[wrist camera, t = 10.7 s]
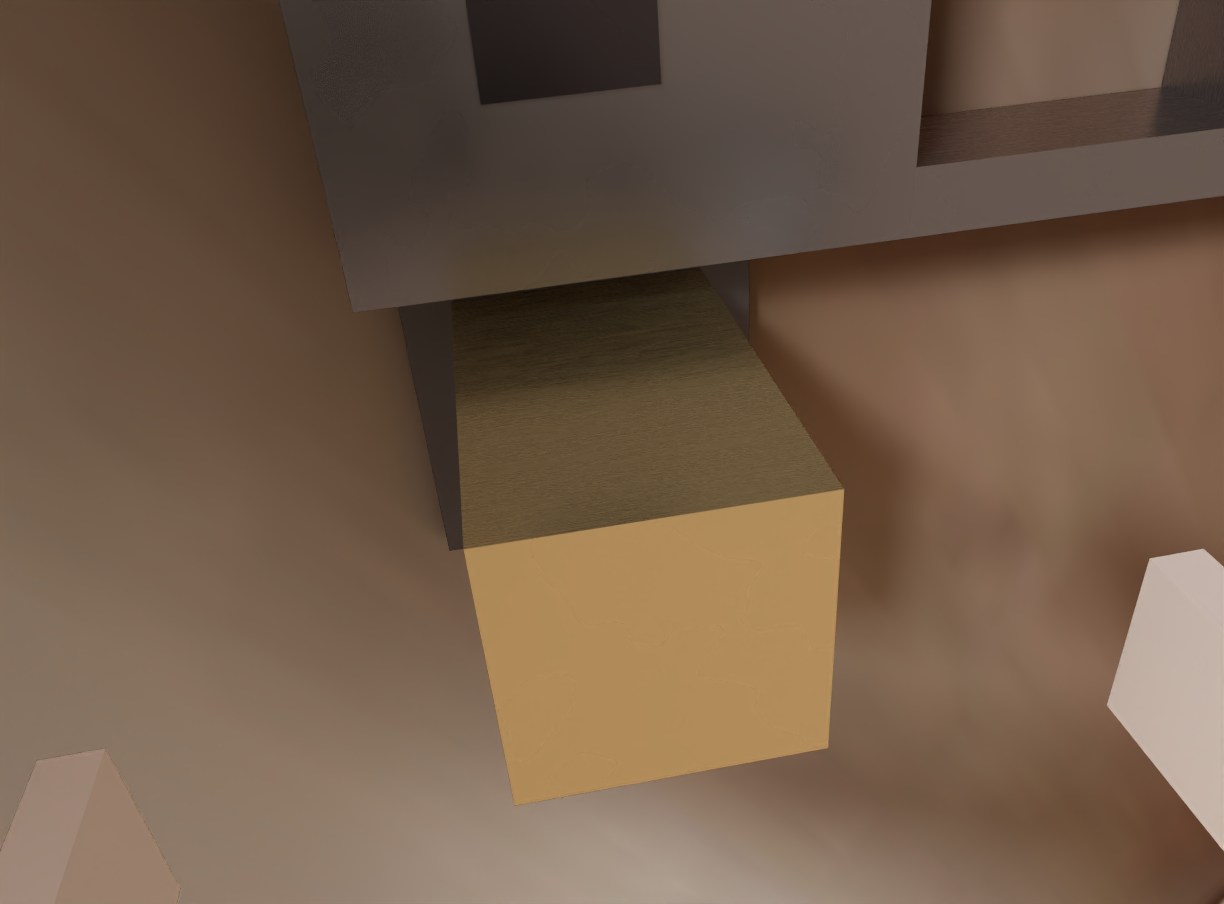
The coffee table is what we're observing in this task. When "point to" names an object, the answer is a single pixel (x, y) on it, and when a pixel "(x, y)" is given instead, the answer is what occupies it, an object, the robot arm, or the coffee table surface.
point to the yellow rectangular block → (640, 536)
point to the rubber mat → (436, 377)
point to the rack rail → (697, 137)
